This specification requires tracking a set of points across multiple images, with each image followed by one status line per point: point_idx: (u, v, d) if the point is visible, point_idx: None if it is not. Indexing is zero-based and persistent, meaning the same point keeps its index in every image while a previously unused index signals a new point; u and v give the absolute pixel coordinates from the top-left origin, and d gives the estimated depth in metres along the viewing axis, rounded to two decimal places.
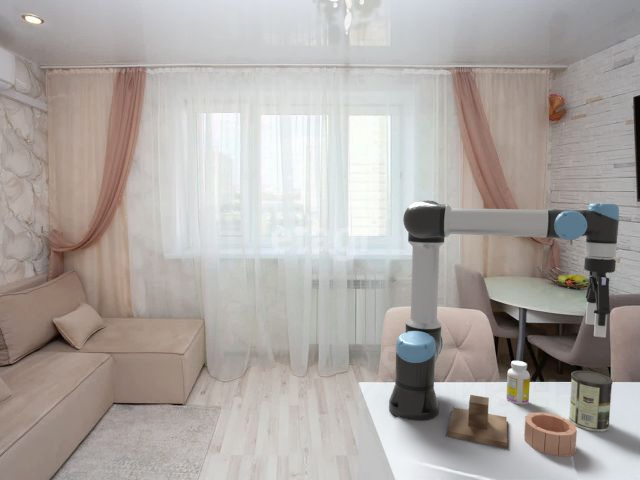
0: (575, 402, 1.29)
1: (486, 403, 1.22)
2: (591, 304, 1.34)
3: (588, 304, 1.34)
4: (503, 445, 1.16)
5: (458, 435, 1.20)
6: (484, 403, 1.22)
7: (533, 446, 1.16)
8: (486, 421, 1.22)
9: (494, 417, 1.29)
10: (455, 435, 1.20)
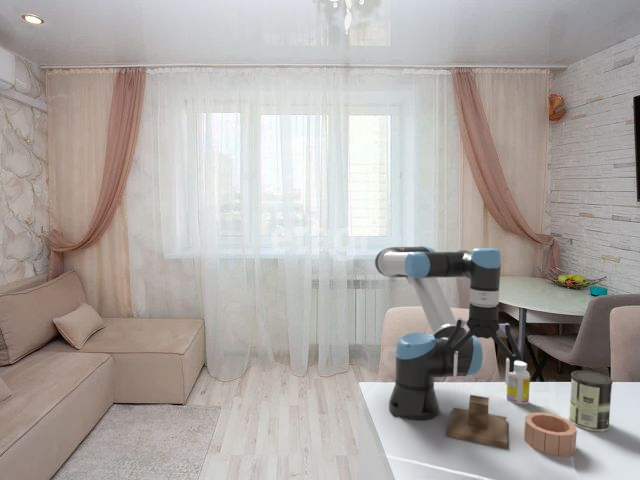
0: (575, 402, 1.29)
1: (486, 403, 1.22)
2: (506, 360, 1.21)
3: (506, 359, 1.22)
4: (503, 445, 1.16)
5: (458, 435, 1.20)
6: (484, 403, 1.22)
7: (533, 446, 1.16)
8: (486, 421, 1.22)
9: (494, 417, 1.29)
10: (455, 435, 1.20)
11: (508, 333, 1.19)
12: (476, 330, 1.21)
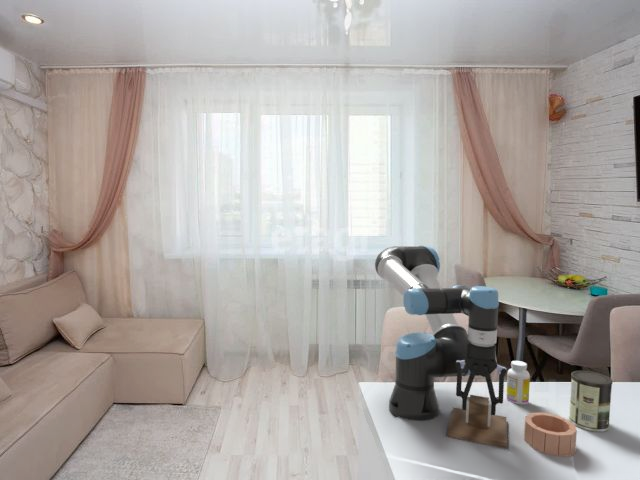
0: (575, 402, 1.29)
1: (486, 403, 1.22)
2: None
3: None
4: (503, 445, 1.16)
5: (458, 435, 1.20)
6: (484, 403, 1.22)
7: (533, 446, 1.16)
8: (486, 421, 1.22)
9: (494, 417, 1.29)
10: (455, 435, 1.20)
11: (502, 377, 1.21)
12: (475, 369, 1.22)
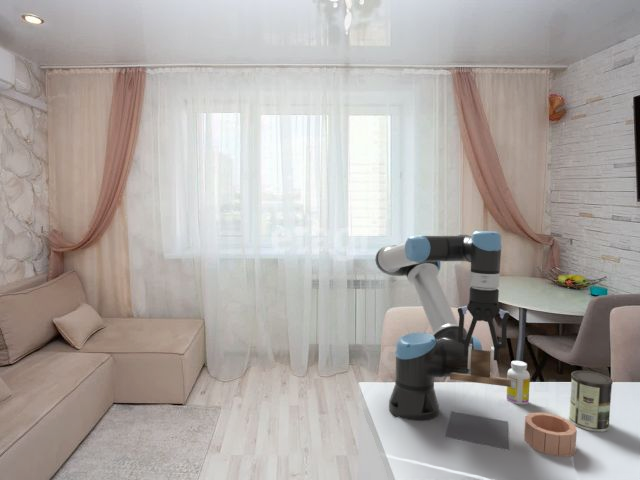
0: (575, 402, 1.29)
1: (488, 351, 1.22)
2: (491, 348, 1.23)
3: (491, 348, 1.23)
4: (507, 384, 1.14)
5: (461, 377, 1.18)
6: None
7: (533, 446, 1.16)
8: (489, 368, 1.20)
9: (496, 377, 1.27)
10: (458, 377, 1.18)
11: (504, 320, 1.19)
12: (477, 313, 1.21)
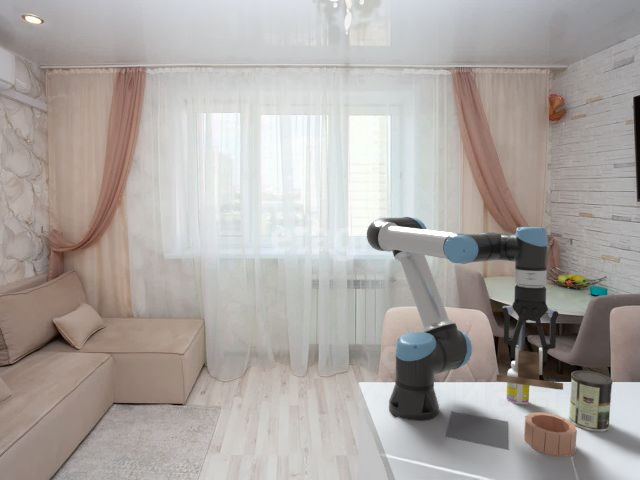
0: (575, 402, 1.29)
1: (536, 352, 1.17)
2: (539, 349, 1.17)
3: (539, 349, 1.18)
4: (559, 386, 1.08)
5: (508, 379, 1.12)
6: (534, 352, 1.17)
7: (533, 446, 1.16)
8: (537, 371, 1.15)
9: None
10: (505, 379, 1.13)
11: (553, 320, 1.14)
12: (524, 313, 1.16)
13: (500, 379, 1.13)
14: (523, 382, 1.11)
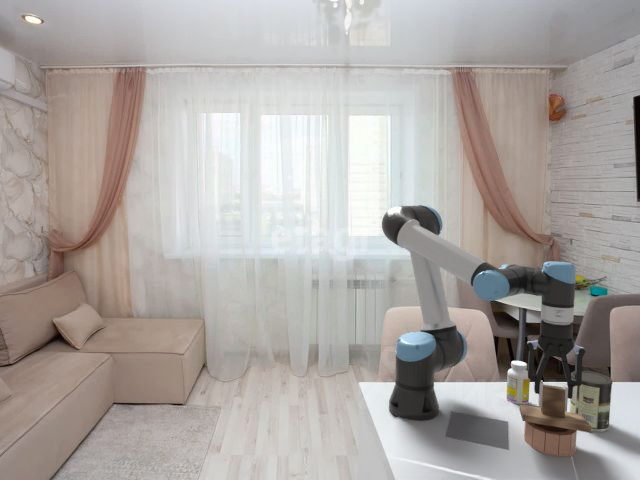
0: (575, 402, 1.29)
1: (562, 389, 1.15)
2: (563, 386, 1.16)
3: (563, 385, 1.17)
4: (587, 429, 1.07)
5: (535, 419, 1.11)
6: (560, 388, 1.15)
7: (533, 446, 1.16)
8: (563, 408, 1.13)
9: (567, 412, 1.20)
10: (531, 419, 1.11)
11: (580, 357, 1.13)
12: (550, 349, 1.15)
13: (526, 419, 1.11)
14: (550, 423, 1.09)
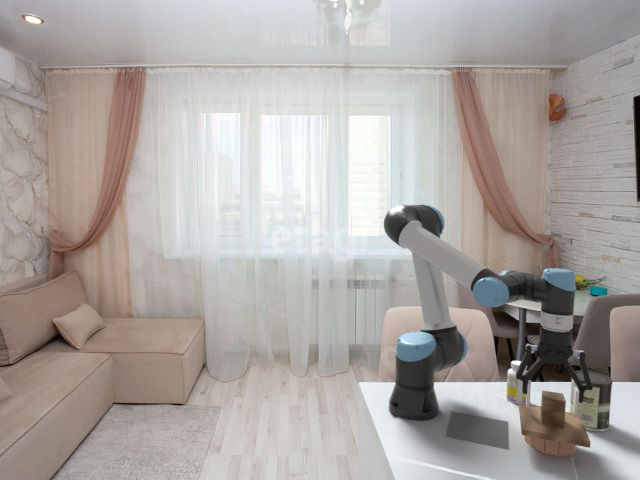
0: None
1: (563, 399, 1.13)
2: (574, 390, 1.15)
3: (574, 389, 1.16)
4: (586, 444, 1.07)
5: (534, 434, 1.11)
6: (560, 399, 1.13)
7: (533, 446, 1.16)
8: (563, 419, 1.13)
9: (567, 414, 1.20)
10: (531, 434, 1.11)
11: (582, 361, 1.13)
12: (549, 356, 1.15)
13: (525, 434, 1.11)
14: (549, 438, 1.10)
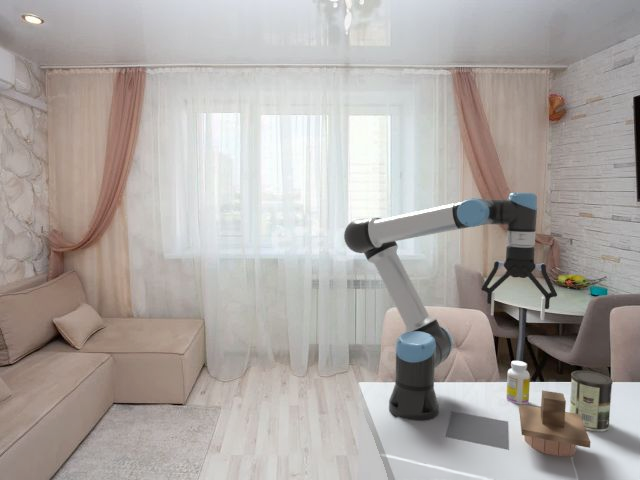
0: (575, 402, 1.29)
1: (563, 399, 1.13)
2: None
3: None
4: (586, 444, 1.07)
5: (534, 434, 1.11)
6: (560, 399, 1.13)
7: (533, 446, 1.16)
8: (563, 419, 1.13)
9: (567, 414, 1.20)
10: (531, 434, 1.11)
11: (544, 272, 1.26)
12: (513, 270, 1.29)
13: (525, 434, 1.11)
14: (549, 438, 1.10)
